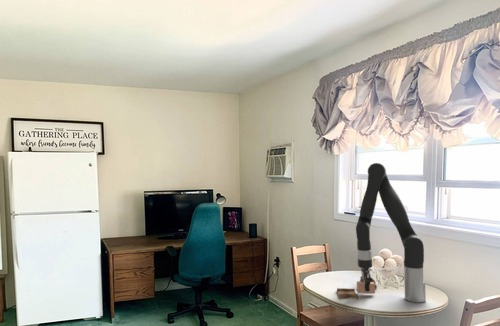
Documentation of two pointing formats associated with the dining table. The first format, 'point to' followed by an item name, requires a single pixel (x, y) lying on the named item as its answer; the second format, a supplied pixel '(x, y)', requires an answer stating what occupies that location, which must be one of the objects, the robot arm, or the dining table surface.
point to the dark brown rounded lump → (370, 281)
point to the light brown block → (362, 287)
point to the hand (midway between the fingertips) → (366, 289)
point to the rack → (346, 293)
